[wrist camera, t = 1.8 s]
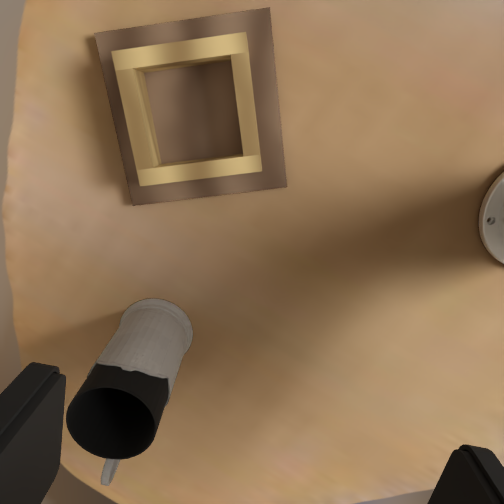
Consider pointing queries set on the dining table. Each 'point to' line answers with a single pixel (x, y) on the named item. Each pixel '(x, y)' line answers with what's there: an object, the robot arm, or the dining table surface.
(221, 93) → the socket base
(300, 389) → the dining table surface
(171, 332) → the grey and black mug
